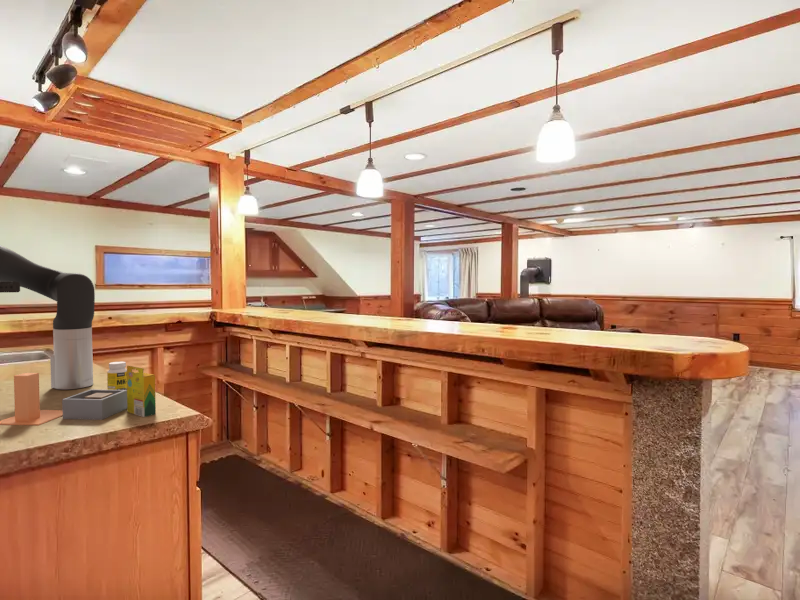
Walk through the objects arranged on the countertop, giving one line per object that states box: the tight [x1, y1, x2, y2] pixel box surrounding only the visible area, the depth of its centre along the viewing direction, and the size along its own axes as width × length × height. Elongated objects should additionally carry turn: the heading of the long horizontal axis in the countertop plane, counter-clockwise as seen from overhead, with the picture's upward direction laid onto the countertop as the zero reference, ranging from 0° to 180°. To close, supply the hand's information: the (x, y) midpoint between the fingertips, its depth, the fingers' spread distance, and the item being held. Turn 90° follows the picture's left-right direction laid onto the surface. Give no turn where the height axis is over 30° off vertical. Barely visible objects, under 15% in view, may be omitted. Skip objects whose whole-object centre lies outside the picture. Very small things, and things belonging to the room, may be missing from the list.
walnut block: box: [85, 393, 113, 399], centre depth 106 cm, size 4×4×4 cm
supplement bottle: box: [106, 361, 127, 390], centre depth 126 cm, size 5×5×8 cm
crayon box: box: [126, 365, 157, 418], centre depth 106 cm, size 7×3×12 cm, turn 58°
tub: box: [61, 388, 127, 421], centre depth 105 cm, size 9×9×5 cm
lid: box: [0, 372, 63, 426], centre depth 101 cm, size 10×10×11 cm
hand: (18, 286), depth 98 cm, fingers open, 8 cm apart
